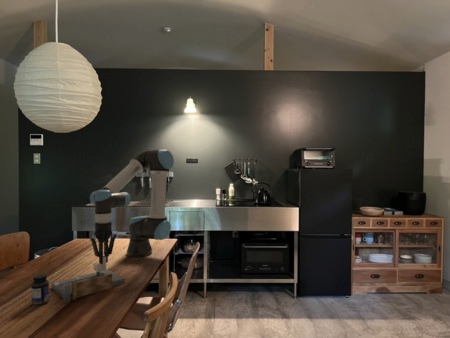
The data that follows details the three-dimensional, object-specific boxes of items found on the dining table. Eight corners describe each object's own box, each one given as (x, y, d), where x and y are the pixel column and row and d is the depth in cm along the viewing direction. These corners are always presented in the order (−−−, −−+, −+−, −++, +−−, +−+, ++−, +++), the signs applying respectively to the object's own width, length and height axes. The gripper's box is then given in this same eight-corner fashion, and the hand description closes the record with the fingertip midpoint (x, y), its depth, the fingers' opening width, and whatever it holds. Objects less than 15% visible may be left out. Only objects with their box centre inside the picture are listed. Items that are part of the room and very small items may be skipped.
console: (107, 273, 159) (107, 267, 159) (124, 282, 146) (124, 276, 146) (51, 287, 141) (51, 281, 141) (65, 299, 128) (64, 293, 128)
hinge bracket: (68, 299, 128) (67, 282, 128) (70, 301, 126) (70, 284, 126) (62, 301, 127) (62, 284, 127) (65, 303, 125) (65, 286, 125)
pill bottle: (45, 298, 129) (45, 272, 129) (51, 302, 126) (51, 275, 125) (28, 303, 125) (28, 276, 125) (34, 307, 121) (34, 279, 121)
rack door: (111, 287, 140) (110, 272, 140) (112, 288, 139) (112, 273, 139) (71, 298, 129) (71, 282, 128) (72, 300, 127) (72, 283, 127)
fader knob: (98, 272, 153) (98, 262, 153) (102, 275, 150) (102, 264, 150) (93, 274, 151) (93, 263, 151) (97, 276, 148) (97, 265, 148)
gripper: (112, 219, 159) (112, 265, 159) (86, 222, 150) (86, 271, 150) (119, 221, 154) (119, 268, 154) (93, 224, 145) (93, 275, 145)
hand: (103, 269), depth 152 cm, fingers closed
